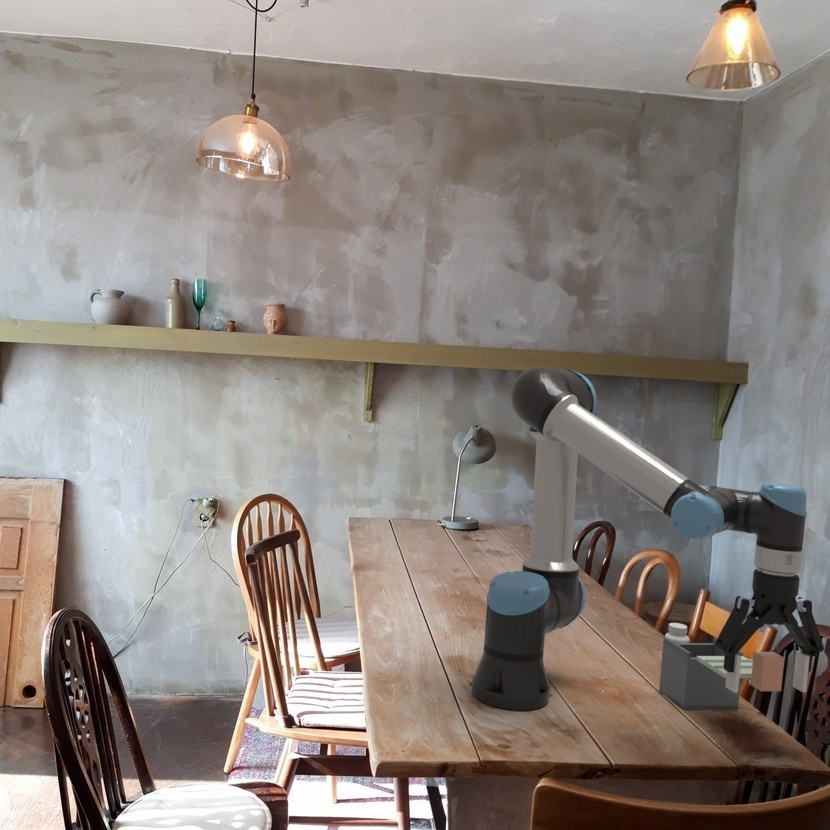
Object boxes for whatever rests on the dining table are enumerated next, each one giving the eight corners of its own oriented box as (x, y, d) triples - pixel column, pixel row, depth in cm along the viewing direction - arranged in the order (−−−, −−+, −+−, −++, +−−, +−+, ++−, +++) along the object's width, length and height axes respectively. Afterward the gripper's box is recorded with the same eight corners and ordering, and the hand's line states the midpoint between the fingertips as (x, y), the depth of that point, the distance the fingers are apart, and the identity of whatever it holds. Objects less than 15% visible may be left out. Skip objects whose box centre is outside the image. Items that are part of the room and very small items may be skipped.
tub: (683, 709, 161) (688, 652, 161) (659, 690, 171) (663, 637, 170) (738, 708, 164) (743, 653, 164) (711, 690, 173) (716, 637, 173)
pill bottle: (658, 663, 188) (662, 621, 188) (681, 664, 189) (684, 622, 189) (667, 671, 183) (671, 628, 183) (691, 672, 184) (695, 629, 183)
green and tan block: (745, 691, 144) (748, 657, 144) (696, 660, 160) (699, 629, 160) (796, 691, 147) (799, 657, 146) (742, 660, 162) (745, 629, 162)
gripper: (725, 575, 140) (714, 698, 141) (853, 578, 145) (841, 697, 146) (701, 564, 147) (690, 682, 148) (823, 568, 152) (812, 681, 153)
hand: (765, 689), depth 147 cm, fingers open, 13 cm apart
